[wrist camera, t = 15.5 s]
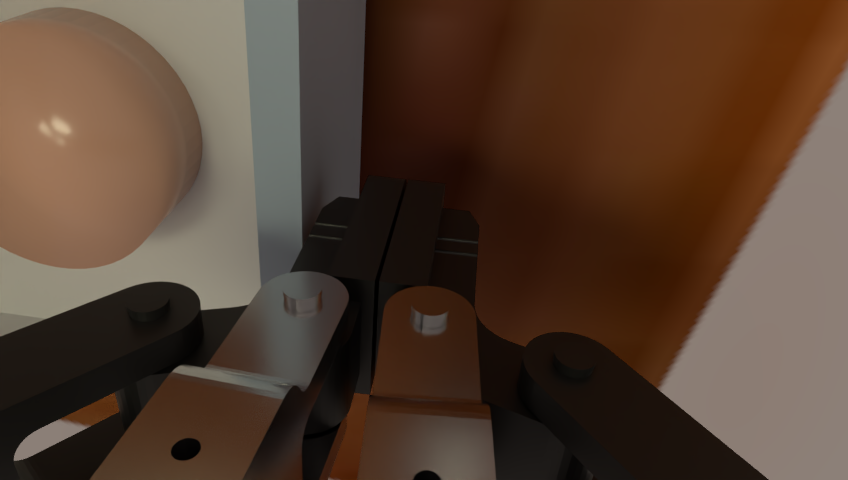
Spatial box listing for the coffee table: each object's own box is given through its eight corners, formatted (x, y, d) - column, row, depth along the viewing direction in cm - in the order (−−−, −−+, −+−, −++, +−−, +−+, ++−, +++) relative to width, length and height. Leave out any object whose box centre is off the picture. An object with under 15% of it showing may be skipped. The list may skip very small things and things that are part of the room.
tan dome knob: (-43, -12, 15) (-129, 10, 13) (198, 29, 15) (149, 57, 13) (6, 201, 18) (-59, 247, 16) (206, 236, 18) (168, 287, 16)
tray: (-298, -253, 13) (-753, -313, 9) (372, -188, 13) (294, -214, 8) (-80, 293, 21) (-257, 428, 16) (353, 351, 20) (307, 509, 15)
